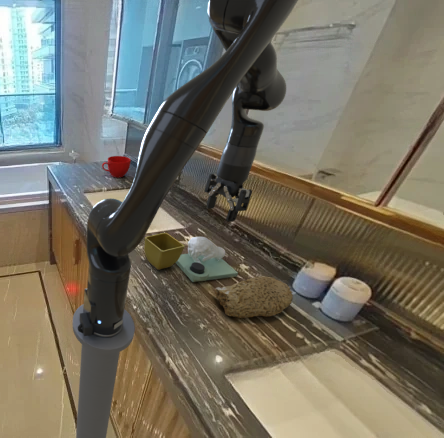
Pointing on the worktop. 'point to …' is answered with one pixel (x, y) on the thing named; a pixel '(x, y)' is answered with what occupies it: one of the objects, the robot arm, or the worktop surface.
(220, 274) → the scale
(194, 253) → the white animal figurine
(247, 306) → the sponge
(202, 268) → the button
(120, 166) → the ceramic cup
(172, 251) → the flower pot
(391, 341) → the worktop surface
